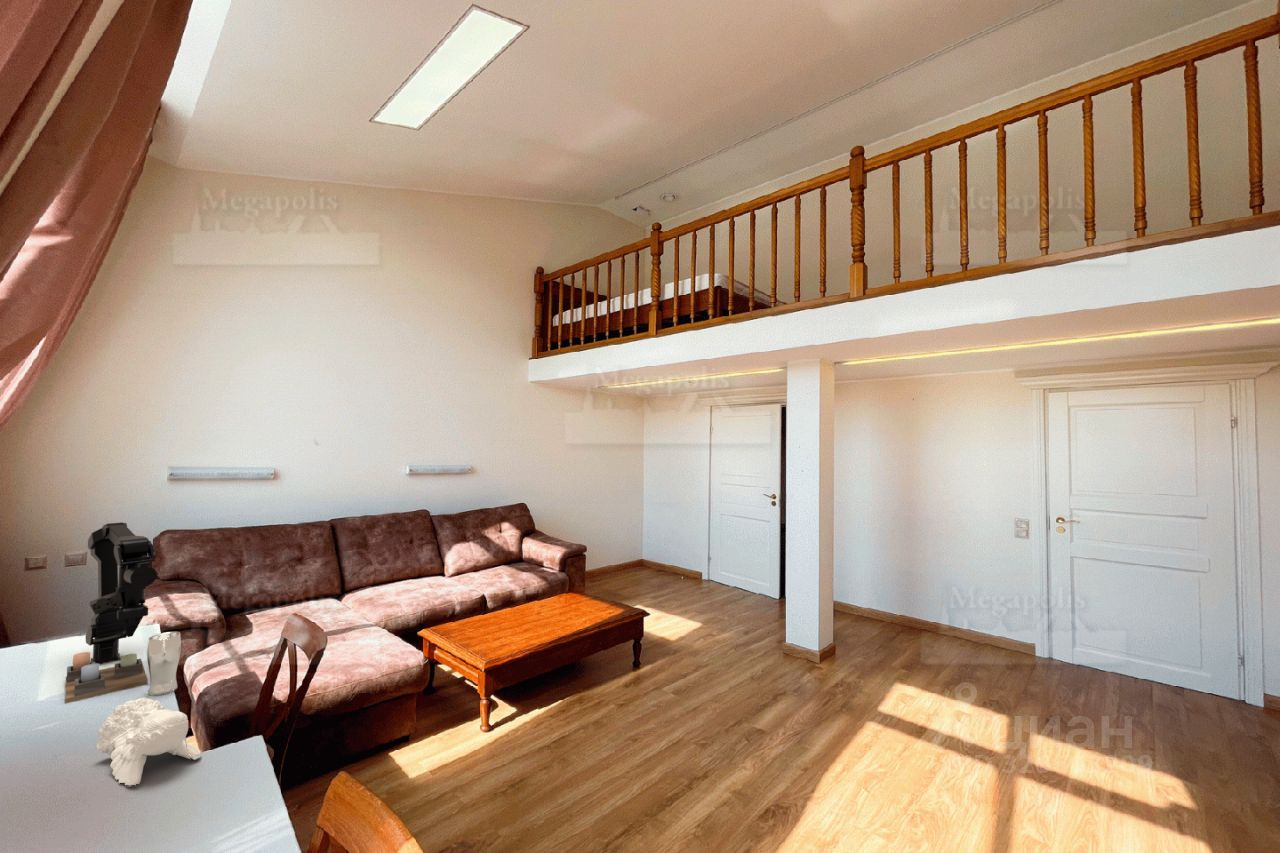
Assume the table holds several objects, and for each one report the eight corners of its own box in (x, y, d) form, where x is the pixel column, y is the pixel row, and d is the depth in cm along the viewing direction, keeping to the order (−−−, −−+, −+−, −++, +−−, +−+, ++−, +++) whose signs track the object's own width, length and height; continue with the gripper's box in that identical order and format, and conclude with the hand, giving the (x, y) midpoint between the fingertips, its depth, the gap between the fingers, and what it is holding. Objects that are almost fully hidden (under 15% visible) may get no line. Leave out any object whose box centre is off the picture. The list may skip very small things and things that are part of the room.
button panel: (65, 681, 154) (66, 666, 155) (141, 664, 166) (142, 651, 166) (64, 703, 141) (65, 687, 142) (147, 684, 153) (148, 669, 153)
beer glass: (163, 697, 145) (165, 640, 146) (138, 696, 145) (140, 639, 146) (186, 685, 152) (188, 631, 153) (161, 685, 152) (163, 631, 153)
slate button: (80, 682, 147) (81, 665, 147) (98, 678, 149) (99, 662, 149) (80, 686, 144) (81, 669, 145) (98, 682, 147) (99, 665, 147)
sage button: (119, 671, 157) (120, 655, 157) (135, 668, 159) (136, 652, 160) (120, 675, 155) (121, 659, 155) (136, 671, 157) (137, 655, 157)
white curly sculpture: (173, 687, 128) (211, 699, 118) (172, 743, 126) (209, 760, 116) (97, 709, 117) (131, 724, 106) (94, 770, 115) (128, 792, 105)
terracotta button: (72, 670, 155) (73, 654, 155) (89, 666, 157) (90, 651, 157) (72, 673, 152) (73, 657, 152) (89, 670, 155) (90, 654, 155)
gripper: (91, 581, 159) (89, 635, 158) (93, 593, 146) (91, 652, 145) (143, 575, 167) (141, 626, 166) (149, 586, 154) (147, 641, 153)
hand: (129, 636), depth 157 cm, fingers closed
